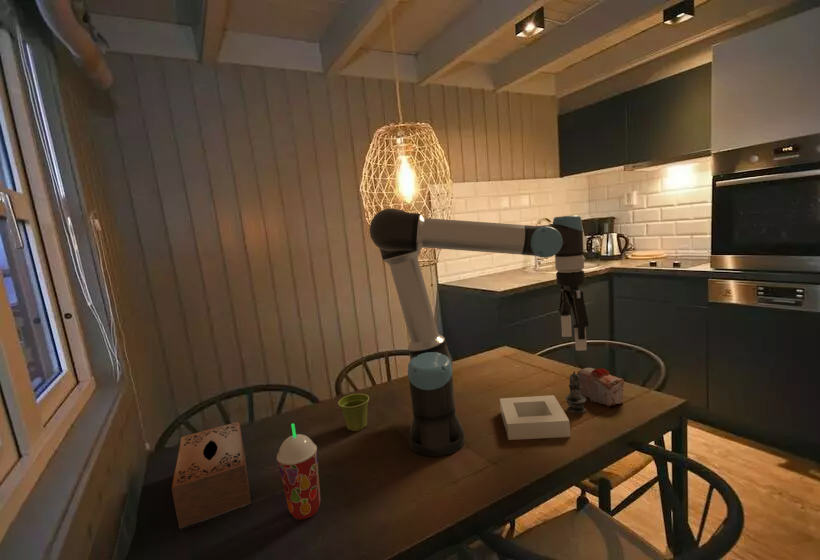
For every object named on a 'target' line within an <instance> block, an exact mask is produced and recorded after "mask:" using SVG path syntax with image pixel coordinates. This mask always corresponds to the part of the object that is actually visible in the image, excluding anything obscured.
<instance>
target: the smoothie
mask: <svg viewBox="0 0 820 560" xmlns="http://www.w3.org/2000/svg"><path fill="white" fill-rule="evenodd" d="M290 426H291V430H292V431H291V432H292V435H290V436H288V437H287V438H286V439H285V440H283V442H282V443H281V445H280V447H279V449H278V452H277V455H276V461H277V466H278V469H279V472H280V477H281V482H282V486H283V490H284V495H285V499H286V504H287V508H288V512H289V514H291V515H292V517H293V518H295V519H297V520H306V519H308V518H311V517H313V516H314V515H315V514H317V512H318V511H319V508H320V506H321V501H322V499H321V498H322V497H321V487H320V477H319V462H318V461H319V459H318V446H317V445H316V444H315V443H314V441H313V440H312V439H311V438H309V436H308V435H305V434H301V433H297V432H296V425H295V423H291V425H290Z"/></svg>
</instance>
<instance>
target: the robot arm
mask: <svg viewBox="0 0 820 560" xmlns="http://www.w3.org/2000/svg"><path fill="white" fill-rule="evenodd" d="M369 236H370V239H371V241H372V243H374V245H375V246H376V247H377V248H379V252H380V256H381V258H382V262H384V263H386V264H388V265H389V268H390V271H391V276H392V280H393V282H394V286H395V290H396V293H397V296H398V301H399V303H400V304H399V305H400V307H401V311H402V315H403V319H404V322H405V325H406V329H407V332H408V336H409V339H410V343H409V344H408V346H407V352H408V355H409V358H410V360H409V362H408V365H407V377H408V382H409V388H410V389H409V392H410V399H411V407H412V409H411V410H412V421H411V426H410V431H409V435H408V439H409V447H410V448H411V450H412V451H413V452H414V453H417V454H419V455H420V456H421V455H422V456H426V457H443V456H448V455H450V454H454V453H455V452H457V451H459V450H460V449H462V447H463V446H464V445H465V442H466V437H465V436H466V435H465V430H464V428H463V425H462V423H461V421H460V418H459V416H458V414H457V411H456V400H455V392H454V391H455V389H454V379H453V376H454V375H453V357H452V354H451V353H450V351H449V349H448V344H447V341H446V339H445V338H446V337H445V336H443V335H441V334H440V333H439V331H438V327H437V324H436V319H435V316H434V314H433V313H434V312H433V310H432V309H433V308H432V304H431V301H430V298H429V294H428V291H427V287H426V283H425V280H424V279H425V278H424V275H423V271H422V268H421V265H420V261H419V255H420V253H421V251H422V249H423V248H427V249H439V250H440V249H441V250H450V251H451V250H452V251H464V252H465V251H467V252H468V251H469V252H480V253H482V252H483V253H494V254H495V253H496V254H507V255H508V254H510V255H522V256H530V257H531V256H532V257H533V256H534V257H539V258H551V257H554V260H555V261H554V263H555V266H554V267H555V270H556V271H557V272H556V273H555V275H556V276H555V278H556V280H555V281H556V285H558V286H559V302H558V312H559V313H560V314H559V315H560V322H561V323H560V325H561V336H562V338H569V337H573V334H572V331H573V330H572V328H573V329H574V342H575V345H574V346H575V347H574V348H575V351H587V349H588V347H587V330H586V328H587V327H589V325H590V324H589V321H588V320H589V319H588V315H587V310H586V305H585V299H584V297H585V296H584V290H583V289H581V290H580V289H579V286H581V285H583V284H585V282H586V278H585V277H586V276H585V271H584V270H583V269H584V268H585V261H586V257H584V256H585V255H584V228H583V221H582V217H581V216H580V215H578V214H571V215H565V216H564V215H562V216H554V217H553V221H552V223H551V224H547V225H546V224H545V225H530V224H527V225H526V224H525V225H524V224H515V223H501V222H485V221H474V220H473V221H471V220H470V221H469V220H458V219H457V220H456V219H455V220H454V219H443V218H429V217H427V218H426V217H424V215H422V213H414V212H408V211H407V212H406V211H405V210H402V209H398V208H384V209H382V210H380V211H378V212H377V213H376V214H375V215H374V216H373V218H372V219H371V221H370V225H369ZM571 315H572V316H573V321H574V324H573V327H572V317H571Z"/></svg>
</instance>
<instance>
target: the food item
mask: <svg viewBox="0 0 820 560" xmlns="http://www.w3.org/2000/svg"><path fill="white" fill-rule="evenodd" d="M576 374H577V375H579V377H580V385H581V386H582V387H581V395H582V396H584V397H586V398H588V399H589V400H590V402H592V401H593V402H592V403H597V404H601V405H604V404H605V405H604V406H606V405H607V407H613V406H617V405H616V404H618V405H621V403H622V404H624V400H623V399H624V391H625V390H624V382H625V381H624V378H620V377H617V376H615V375H611V374H610V371H608V370H607V369H606V368H593V367H585V368H582V369H579V370H578V371H577V372H576ZM612 405H613V406H612Z"/></svg>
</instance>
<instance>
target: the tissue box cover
mask: <svg viewBox="0 0 820 560" xmlns="http://www.w3.org/2000/svg"><path fill="white" fill-rule="evenodd" d="M241 429H242V428H241V424H240V421H236V422H231V423H227V424H224V425H221V426H217V427H214V428H210V429H206V430H203V431H199V432H195V433H191V434H187V435H184V436H181V438H180V443H179V448H178V452H177V457H176V458H177V459H176V462H175V466H174V467H175V469H174V473H173V478H172V484H171V492H172V498H173V504H174V508H175V513H176V519H177V523H178V529H179V528H181V527H184V526H187V525H189V524H193V523H196V522H198V521H201V520H204V519H206V518H210V517H212V516H215V515H217V514H220V513H223V512H226V511H228V510H231V509H234V508H238V507H240V506H242V505H245V504H248V503H251V504H252V500H250V499H251V492H249V491H250V484H249V479H248V478H249V477H247V476H248V470H247V469H246V468H247V463H246V462H247V461H245V460H246V454H244V453H245V449H244V447H245V446H244V443H243V437H242V431H241Z"/></svg>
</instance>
